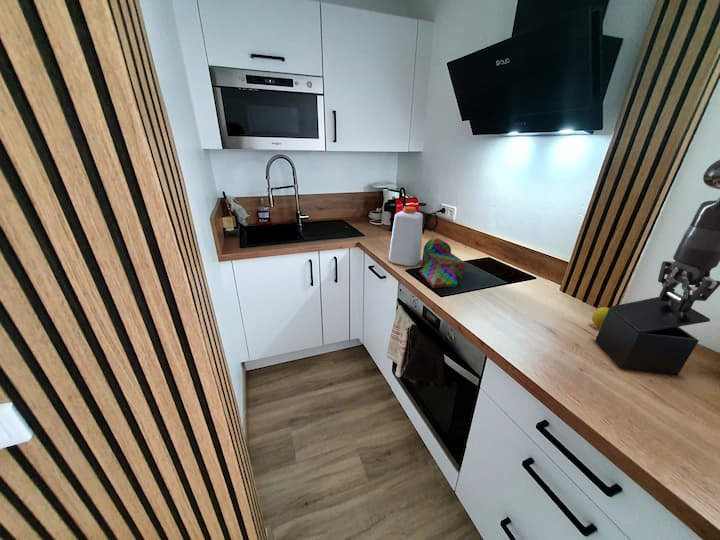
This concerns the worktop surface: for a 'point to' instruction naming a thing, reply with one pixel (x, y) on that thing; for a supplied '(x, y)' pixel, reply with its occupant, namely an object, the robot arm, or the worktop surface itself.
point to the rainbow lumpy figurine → (441, 264)
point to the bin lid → (657, 314)
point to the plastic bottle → (406, 237)
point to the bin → (645, 346)
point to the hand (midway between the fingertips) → (672, 305)
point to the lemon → (599, 316)
